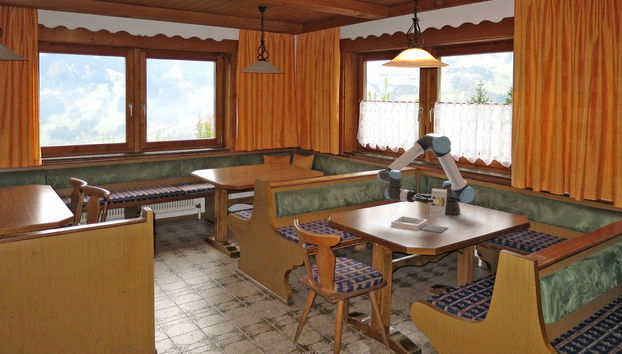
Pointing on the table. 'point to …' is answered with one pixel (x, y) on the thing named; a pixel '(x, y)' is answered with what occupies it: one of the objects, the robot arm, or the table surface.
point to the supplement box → (438, 209)
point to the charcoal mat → (434, 228)
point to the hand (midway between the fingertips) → (441, 200)
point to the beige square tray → (409, 219)
